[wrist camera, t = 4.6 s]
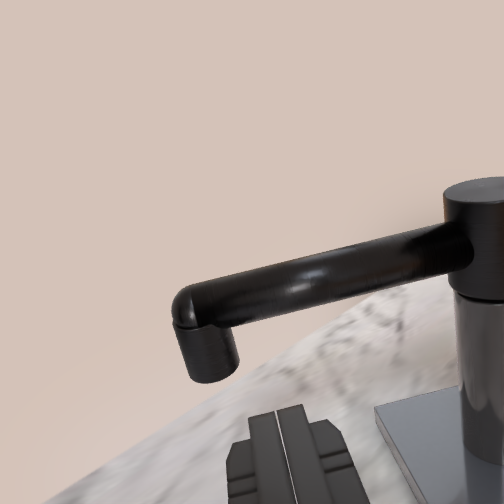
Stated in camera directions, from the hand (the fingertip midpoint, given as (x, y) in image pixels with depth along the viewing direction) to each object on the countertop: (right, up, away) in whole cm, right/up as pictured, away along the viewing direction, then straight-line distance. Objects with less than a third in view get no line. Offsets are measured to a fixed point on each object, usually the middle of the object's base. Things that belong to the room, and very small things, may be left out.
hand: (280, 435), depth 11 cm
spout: (+5, +1, +10) cm, 11 cm away
